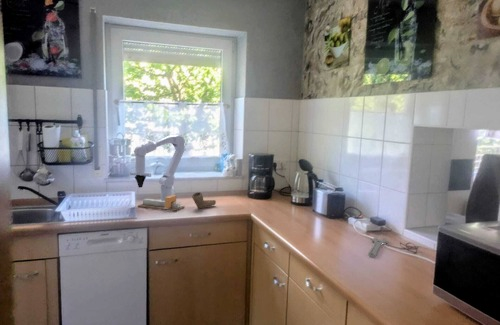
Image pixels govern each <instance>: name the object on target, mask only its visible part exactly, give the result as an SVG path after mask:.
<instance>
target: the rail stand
mask: <svg viewBox="0 0 500 325" xmlns="http://www.w3.org/2000/svg"><path fill="white" fill-rule="evenodd" d="M137 207H138V208H142V209H152V210H160V211H169V212H175V213H177V212H179V211H180V210H183V209H185V206H184V205H181V202H179V201H176V202H171V208H165V201H163V200H160V199H155V198H154V199H153V198H144V199H142V203H140V204H138V205H137Z"/></svg>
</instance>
